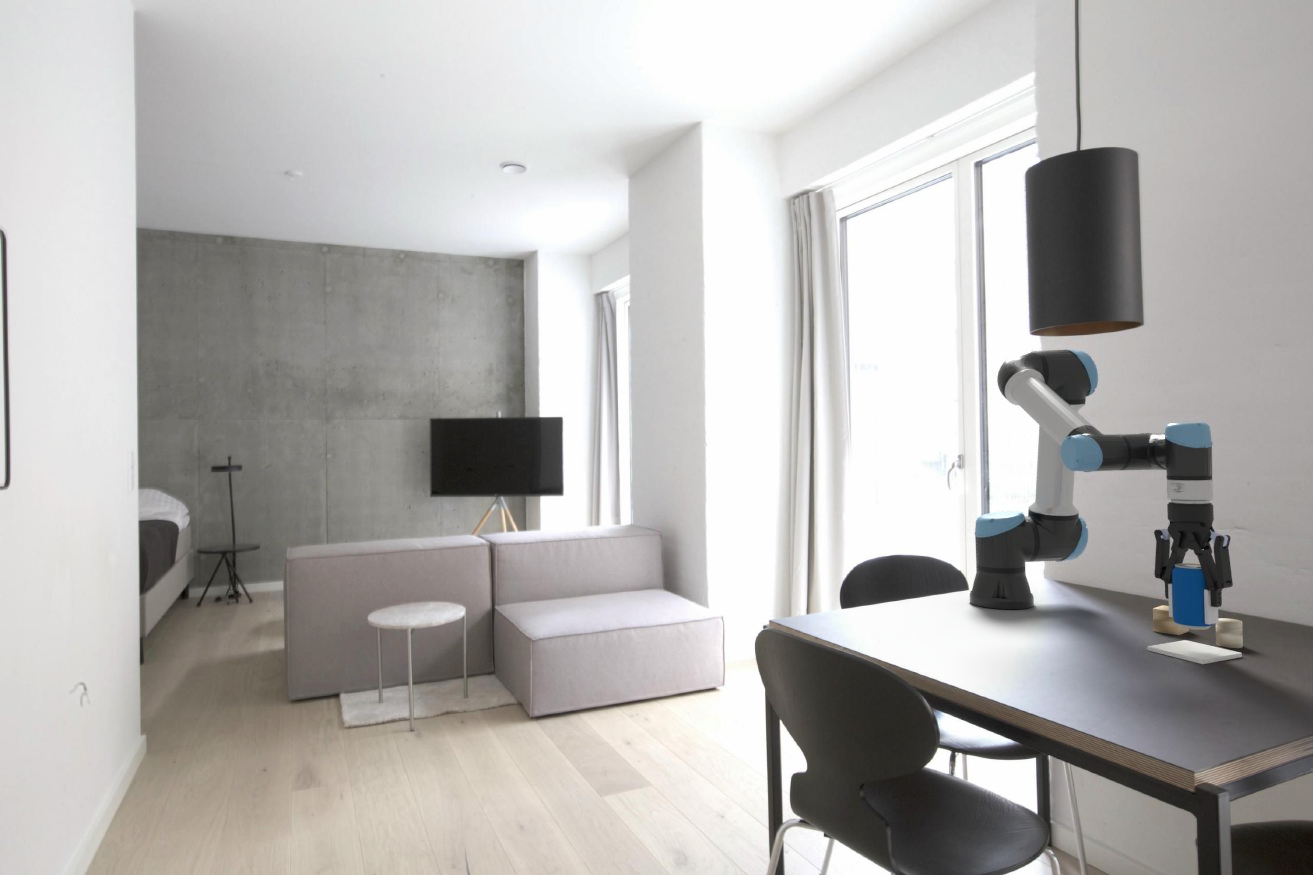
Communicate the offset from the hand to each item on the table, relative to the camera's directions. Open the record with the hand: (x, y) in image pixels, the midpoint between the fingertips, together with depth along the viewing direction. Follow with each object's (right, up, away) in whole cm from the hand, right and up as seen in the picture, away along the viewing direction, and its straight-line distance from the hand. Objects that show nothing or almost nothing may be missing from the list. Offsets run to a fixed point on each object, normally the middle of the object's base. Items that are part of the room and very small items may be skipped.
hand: (1193, 619), depth 157 cm
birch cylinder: (+11, -6, +5) cm, 14 cm away
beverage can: (0, -2, 0) cm, 2 cm away
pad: (0, -7, 0) cm, 7 cm away
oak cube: (+7, -7, +18) cm, 20 cm away
